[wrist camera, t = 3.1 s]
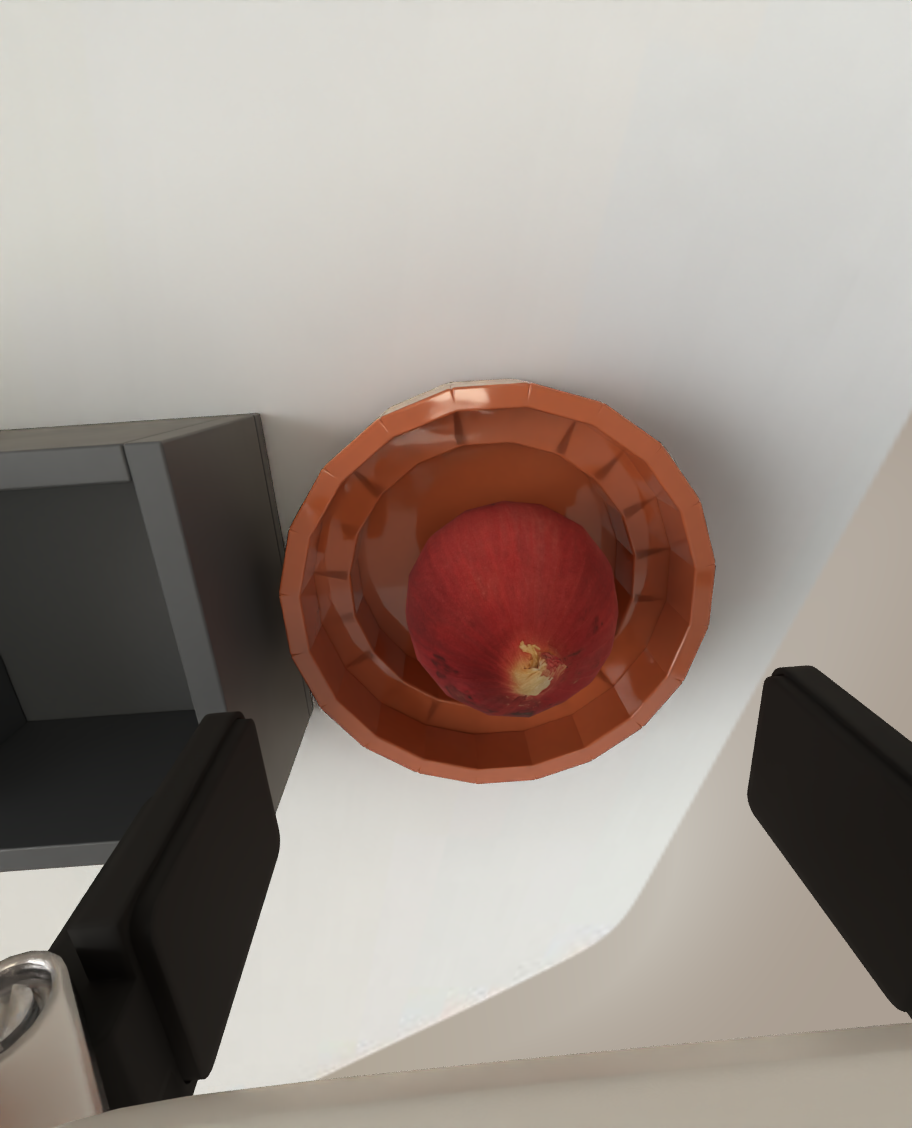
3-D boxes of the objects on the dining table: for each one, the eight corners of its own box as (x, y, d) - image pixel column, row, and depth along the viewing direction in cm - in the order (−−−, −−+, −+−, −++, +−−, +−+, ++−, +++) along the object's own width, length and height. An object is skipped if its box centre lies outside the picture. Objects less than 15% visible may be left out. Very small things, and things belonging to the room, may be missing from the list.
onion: (564, 642, 20) (640, 811, 12) (406, 630, 20) (386, 796, 12) (593, 486, 18) (706, 574, 10) (419, 469, 18) (405, 548, 10)
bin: (260, 412, 17) (160, 440, 11) (313, 709, 21) (261, 853, 15) (-94, 436, 17) (-395, 477, 11) (24, 730, 21) (-148, 884, 15)
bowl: (672, 367, 17) (738, 368, 13) (649, 697, 21) (694, 769, 18) (284, 392, 17) (240, 401, 13) (337, 719, 21) (316, 796, 18)
